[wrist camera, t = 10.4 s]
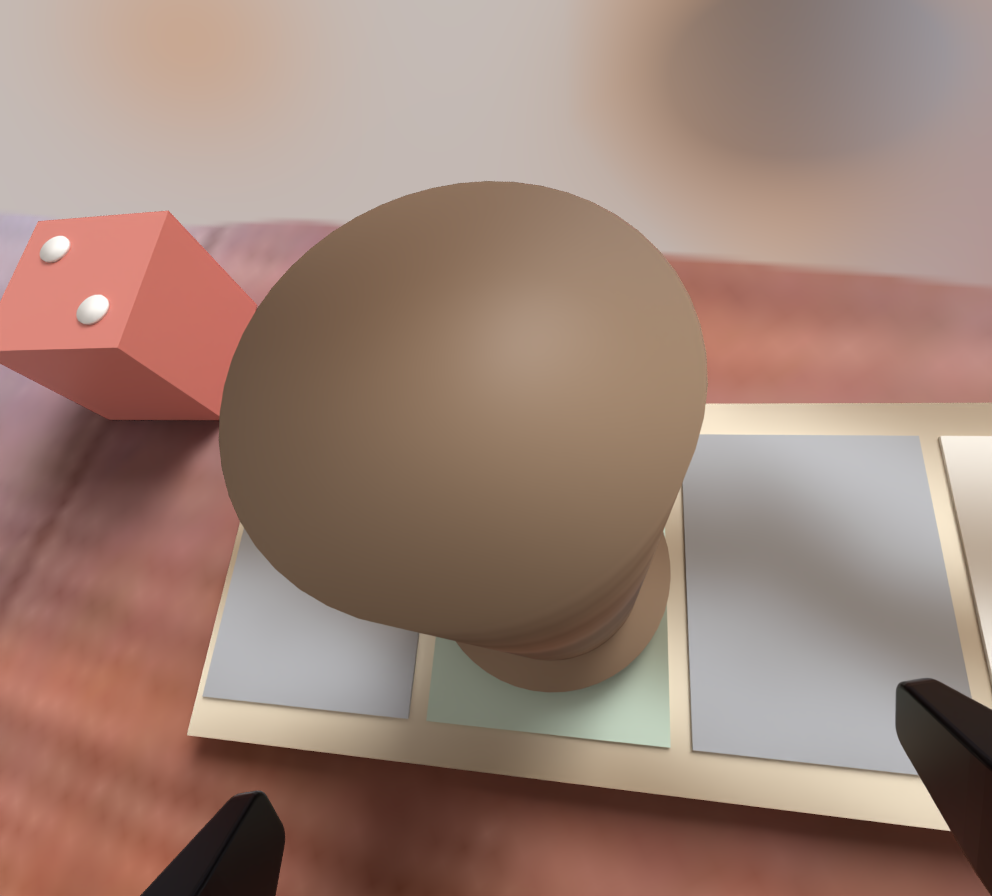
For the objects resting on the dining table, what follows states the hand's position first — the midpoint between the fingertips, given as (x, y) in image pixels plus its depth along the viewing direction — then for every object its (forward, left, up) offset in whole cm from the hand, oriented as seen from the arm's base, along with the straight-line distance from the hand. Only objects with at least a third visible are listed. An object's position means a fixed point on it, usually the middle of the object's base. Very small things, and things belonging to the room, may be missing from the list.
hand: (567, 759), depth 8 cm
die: (+11, +16, -8) cm, 21 cm away
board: (+4, -2, -8) cm, 9 cm away
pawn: (+4, +1, -6) cm, 7 cm away
